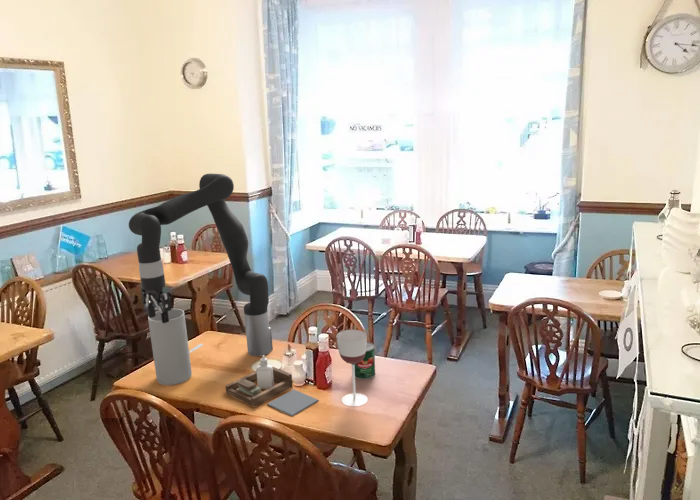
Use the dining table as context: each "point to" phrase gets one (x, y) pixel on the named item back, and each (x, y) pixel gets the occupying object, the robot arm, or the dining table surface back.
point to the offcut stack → (248, 388)
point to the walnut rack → (282, 385)
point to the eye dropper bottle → (265, 374)
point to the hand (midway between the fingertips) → (158, 319)
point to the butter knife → (195, 348)
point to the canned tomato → (366, 364)
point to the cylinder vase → (170, 348)
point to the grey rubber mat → (293, 402)
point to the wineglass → (352, 359)
